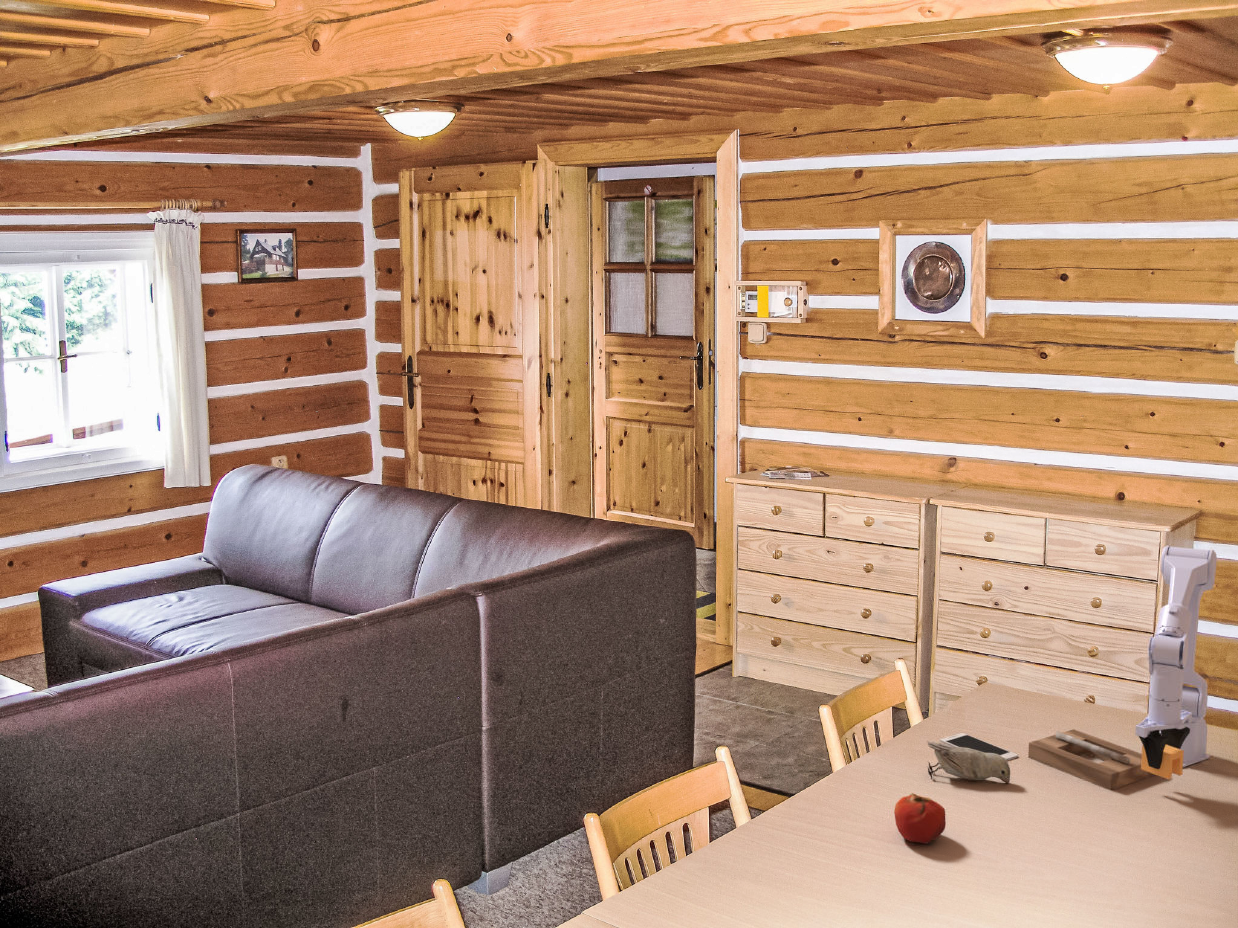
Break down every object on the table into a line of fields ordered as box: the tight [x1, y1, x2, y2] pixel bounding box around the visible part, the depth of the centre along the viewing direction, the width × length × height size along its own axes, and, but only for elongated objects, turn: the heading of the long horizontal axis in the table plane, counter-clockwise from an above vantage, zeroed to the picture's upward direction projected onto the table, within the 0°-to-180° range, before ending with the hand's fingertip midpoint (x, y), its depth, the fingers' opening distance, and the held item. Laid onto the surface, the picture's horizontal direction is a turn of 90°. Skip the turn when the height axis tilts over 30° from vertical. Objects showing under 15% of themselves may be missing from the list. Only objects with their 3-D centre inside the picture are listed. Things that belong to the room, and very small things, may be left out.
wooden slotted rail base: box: [1028, 728, 1155, 791], centre depth 256 cm, size 14×20×5 cm
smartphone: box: [939, 732, 1019, 762], centre depth 266 cm, size 7×15×1 cm, turn 32°
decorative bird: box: [926, 740, 1011, 785], centre depth 249 cm, size 5×16×7 cm, turn 73°
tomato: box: [893, 792, 947, 844], centre depth 224 cm, size 9×9×8 cm
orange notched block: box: [1141, 744, 1184, 780], centre depth 241 cm, size 4×6×5 cm
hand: (1161, 764), depth 242 cm, fingers closed on orange notched block, 4 cm apart
